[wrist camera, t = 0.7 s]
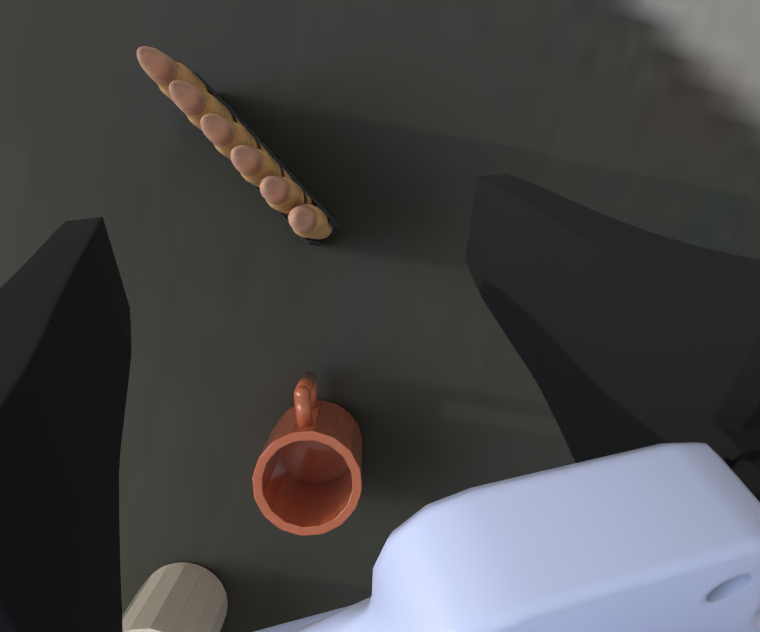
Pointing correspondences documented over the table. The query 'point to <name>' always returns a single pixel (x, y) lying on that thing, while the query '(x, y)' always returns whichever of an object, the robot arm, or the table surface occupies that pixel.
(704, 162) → the table surface
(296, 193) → the ammunition clip
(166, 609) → the cream cup
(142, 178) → the table surface
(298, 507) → the terracotta cup
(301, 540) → the table surface
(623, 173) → the table surface
